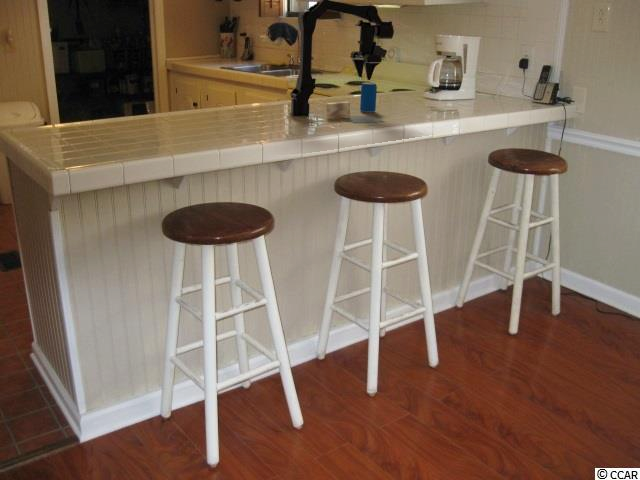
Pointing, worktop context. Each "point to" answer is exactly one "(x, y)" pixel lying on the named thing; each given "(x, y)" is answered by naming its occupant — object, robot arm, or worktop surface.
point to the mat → (364, 119)
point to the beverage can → (368, 97)
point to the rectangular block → (338, 110)
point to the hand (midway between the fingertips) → (364, 78)
